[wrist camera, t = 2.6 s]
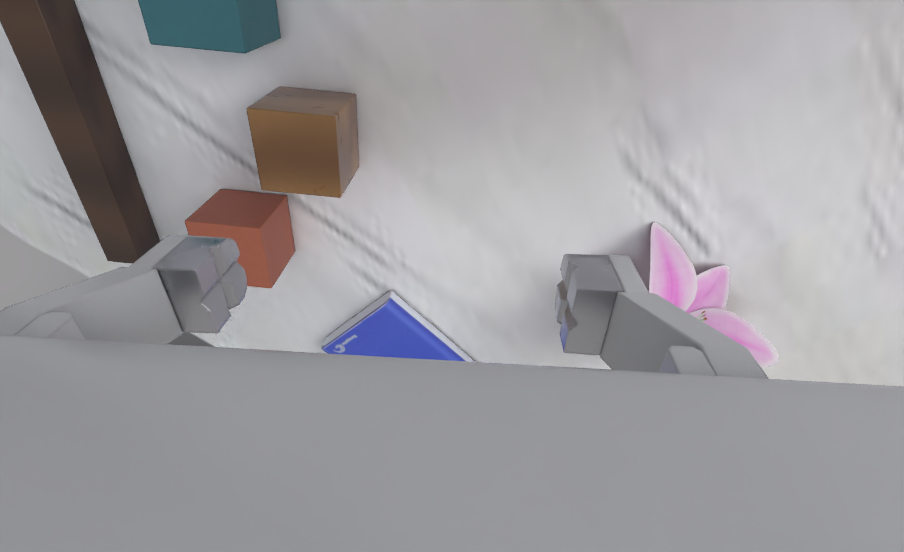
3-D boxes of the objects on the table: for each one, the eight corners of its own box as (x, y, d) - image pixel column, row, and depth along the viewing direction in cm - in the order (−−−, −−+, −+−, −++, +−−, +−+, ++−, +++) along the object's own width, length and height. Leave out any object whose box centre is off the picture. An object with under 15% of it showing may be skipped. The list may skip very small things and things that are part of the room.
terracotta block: (220, 188, 30) (184, 221, 27) (287, 195, 30) (259, 228, 27) (234, 245, 33) (202, 281, 29) (295, 251, 33) (271, 288, 29)
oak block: (278, 85, 26) (245, 107, 22) (356, 93, 26) (335, 116, 22) (289, 160, 29) (260, 190, 25) (359, 167, 29) (341, 198, 25)
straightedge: (-63, -233, 19) (-125, -254, 17) (-7, -228, 19) (-63, -248, 17) (129, 243, 33) (107, 261, 31) (161, 246, 33) (141, 264, 31)
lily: (742, 320, 35) (858, 356, 26) (624, 413, 36) (695, 483, 26) (653, 199, 34) (741, 190, 24) (531, 299, 34) (570, 328, 25)
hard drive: (319, 350, 37) (425, 426, 42) (388, 301, 33) (494, 390, 38) (325, 337, 38) (426, 411, 43) (392, 288, 34) (494, 375, 39)
